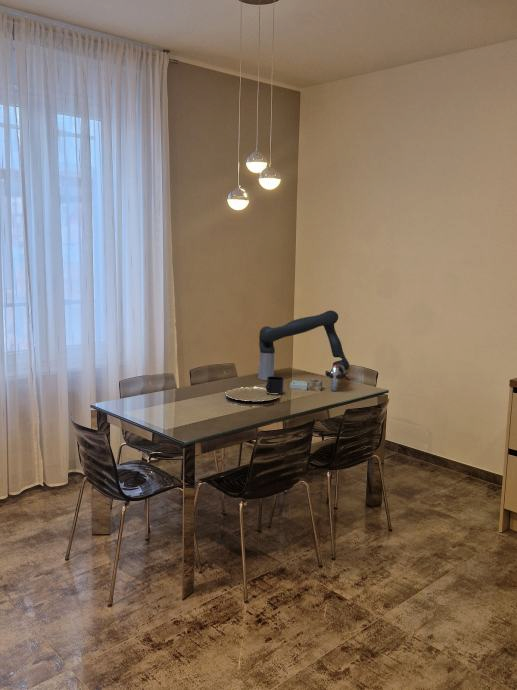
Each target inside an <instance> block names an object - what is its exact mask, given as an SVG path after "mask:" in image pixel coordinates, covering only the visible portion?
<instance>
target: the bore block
mask: <svg viewBox="0 0 517 690" xmlns="http://www.w3.org/2000/svg"><path fill="white" fill-rule="evenodd" d="M306 382H307V389H308V390H307V391H312V390H321V391H322V389H323V379H316V378H309V379H308V380H307V381H306ZM321 388H322V389H321Z"/></svg>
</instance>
